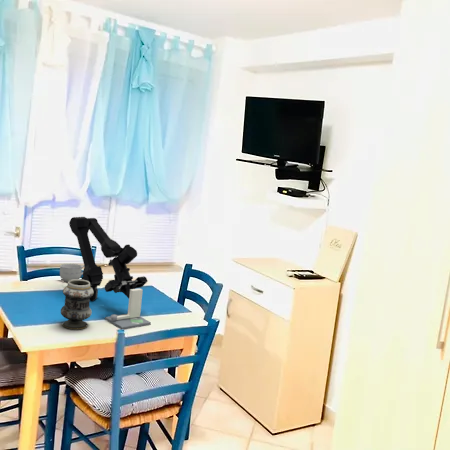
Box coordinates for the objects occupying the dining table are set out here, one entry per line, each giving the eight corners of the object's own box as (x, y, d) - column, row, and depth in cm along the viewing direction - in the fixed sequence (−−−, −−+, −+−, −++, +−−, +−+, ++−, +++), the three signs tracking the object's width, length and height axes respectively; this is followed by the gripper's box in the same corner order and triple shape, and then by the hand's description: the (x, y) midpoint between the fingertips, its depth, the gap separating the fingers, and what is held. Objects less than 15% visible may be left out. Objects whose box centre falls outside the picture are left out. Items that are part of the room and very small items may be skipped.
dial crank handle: (109, 319, 224) (112, 291, 222) (137, 315, 233) (140, 288, 231) (112, 321, 223) (115, 292, 221) (140, 317, 231) (143, 289, 229)
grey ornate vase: (90, 331, 212) (94, 287, 209) (58, 330, 210) (61, 285, 207) (91, 320, 224) (94, 278, 221) (60, 319, 221) (64, 276, 218)
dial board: (105, 319, 227) (105, 316, 227) (132, 314, 237) (133, 312, 237) (122, 329, 218) (122, 327, 218) (150, 324, 228) (150, 322, 228)
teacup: (61, 283, 268) (62, 268, 267) (56, 277, 277) (58, 262, 276) (89, 283, 274) (90, 268, 273) (84, 277, 284) (85, 262, 283)
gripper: (130, 276, 248) (141, 307, 242) (94, 280, 235) (105, 313, 229) (141, 264, 241) (154, 295, 235) (105, 267, 228) (117, 300, 222)
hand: (132, 301), depth 230 cm, fingers closed, pressing on dial crank handle
